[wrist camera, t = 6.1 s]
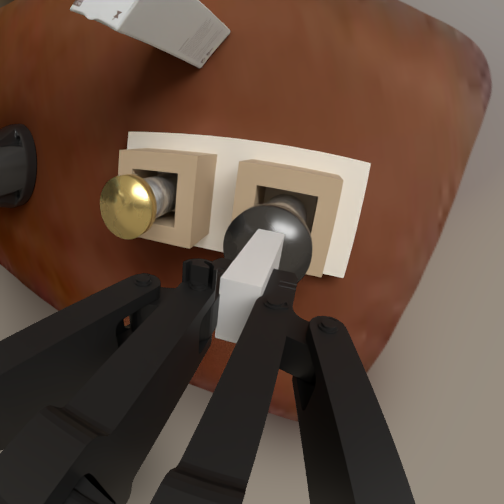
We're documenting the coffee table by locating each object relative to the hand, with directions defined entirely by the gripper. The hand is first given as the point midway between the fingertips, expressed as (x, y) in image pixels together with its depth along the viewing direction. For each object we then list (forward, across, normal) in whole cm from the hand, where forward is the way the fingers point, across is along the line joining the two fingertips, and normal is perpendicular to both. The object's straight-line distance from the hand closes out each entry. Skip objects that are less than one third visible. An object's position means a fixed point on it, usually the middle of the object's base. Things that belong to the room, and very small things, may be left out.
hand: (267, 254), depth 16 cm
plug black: (+10, 0, 0) cm, 10 cm away
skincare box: (+15, -14, +18) cm, 27 cm away
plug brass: (+13, -12, 0) cm, 17 cm away
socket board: (+15, -6, 0) cm, 16 cm away
